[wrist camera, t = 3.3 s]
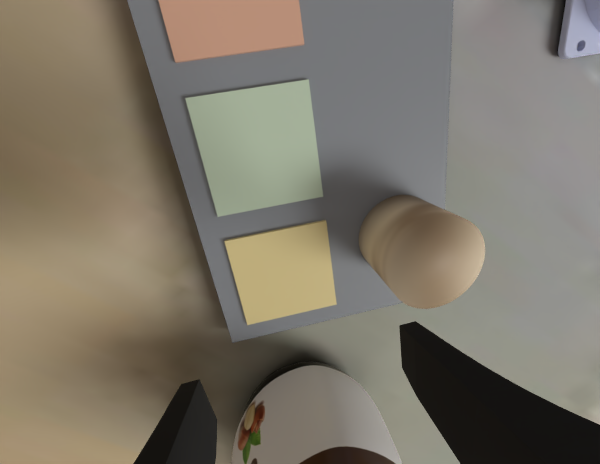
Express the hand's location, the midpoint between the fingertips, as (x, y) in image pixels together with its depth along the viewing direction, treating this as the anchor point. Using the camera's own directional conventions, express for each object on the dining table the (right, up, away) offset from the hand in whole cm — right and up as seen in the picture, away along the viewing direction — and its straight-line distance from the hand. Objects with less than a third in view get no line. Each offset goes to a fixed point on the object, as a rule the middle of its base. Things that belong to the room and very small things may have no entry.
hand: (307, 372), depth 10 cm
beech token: (+6, +5, +7) cm, 10 cm away
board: (+1, +10, +5) cm, 11 cm away
